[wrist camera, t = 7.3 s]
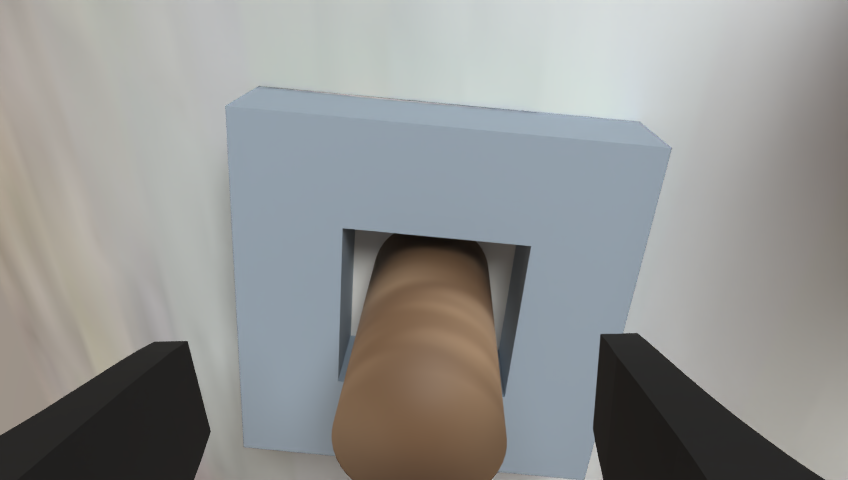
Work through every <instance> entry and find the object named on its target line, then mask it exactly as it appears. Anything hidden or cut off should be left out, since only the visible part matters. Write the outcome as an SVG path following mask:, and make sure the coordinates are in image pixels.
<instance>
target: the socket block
mask: <svg viewBox="0 0 848 480" xmlns="http://www.w3.org/2000/svg"><path fill="white" fill-rule="evenodd" d="M225 109H226V127H227V146H228V164H229V183H230V201H231V220H232V238H233V257H234V275H235V294H236V312H237V331H238V349H239V368H240V386H241V404H242V423H243V441H244V447H248V448H258V449H268V450H278V451H289V452H299V453H309V454H320V455H330V456H335V453H334V450H333V446H332V426H333V422H334V418H335V414H336V410H337V406H338V402H339V398H340V394H341V391H342V387H343V383H344V379H345V375H346V371H347V367H348V364H349V360H350V356H351V352H352V348H353V344H354V340H355V337H356V333H357V329H358V325H359V321H360V317H361V313H362V310H363V306H364V302H365V298H366V294H367V290H368V286H369V282H370V279H371V275H372V271H373V267H374V263H375V260H376V256H377V254H378V252H379V250H380V248H381V246H382V245H383V243H384V242H385V241H386V240H387V239H388V238H389V237H390V236H391V235H392V234H393V233H398V234H409V235H419V236H430V237H440V238H451V239H461V240H472V241H476V242H477V243H478V244H479V245H480V247H481V248H482V250H483V252H484V254H485V256H486V259H487V263H488V269H489V278H490V287H491V296H492V306H493V315H494V324H495V333H496V343H497V352H498V361H499V370H500V379H501V389H502V398H503V407H504V416H505V425H506V435H507V449H506V455H505V458H504V461H503V463H502V465H501V467H500V469H499V471H498V472H504V473H514V474H525V475H535V476H545V477H556V478H566V479H576V480H584V479H585V475H586V471H587V468H588V464H589V460H590V456H591V452H592V449H593V445H594V441H595V437H594V433H593V419H594V407H595V395H596V383H597V370H598V358H599V346H600V334H623V331H624V327H625V324H626V320H627V316H628V312H629V308H630V305H631V301H632V297H633V293H634V289H635V286H636V282H637V278H638V274H639V271H640V267H641V263H642V259H643V255H644V252H645V248H646V244H647V240H648V236H649V233H650V229H651V225H652V221H653V217H654V214H655V210H656V206H657V202H658V199H659V195H660V191H661V187H662V183H663V180H664V176H665V172H666V168H667V164H668V161H669V157H670V153H671V149H672V148H671V147H670V146H669V145H668V144H666V143H665V142H664V141H663V140H661V139H660V138H659V137H658V136H657V135H655V134H654V133H653V132H652V131H650V130H649V129H648V128H647V127H645V126H644V125H643V124H642V123H640V122H635V121H624V120H614V119H603V118H592V117H582V116H571V115H561V114H550V113H539V112H529V111H518V110H507V109H497V108H486V107H475V106H465V105H454V104H443V103H433V102H422V101H411V100H401V99H390V98H379V97H369V96H358V95H347V94H337V93H326V92H316V91H305V90H294V89H284V88H273V87H262V86H258V87H256V88H255V89H253V90H251V91H250V92H248V93H246V94H245V95H243V96H241V97H239V98H238V99H236V100H234V101H233V102H231V103H229V104H228V105H226V106H225Z"/></svg>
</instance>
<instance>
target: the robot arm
mask: <svg viewBox="0 0 848 480" xmlns="http://www.w3.org/2000/svg"><path fill="white" fill-rule="evenodd" d="M210 432H211V431H210V427H209V423H208V419H207V415H206V412H205V408H204V404H203V400H202V396H201V392H200V388H199V384H198V380H197V376H196V373H195V369H194V365H193V361H192V357H191V353H190V349H189V345H188V341H171V342H153V343H151V344H149V345H147V346H145V347H143V348H142V349H140V350H138V351H136V352H135V353H133V354H131V355H130V356H128V357H126V358H125V359H123V360H121V361H120V362H118V363H117V364H115V365H113V366H112V367H110V368H109V369H107V370H105V371H104V372H102V373H101V374H99V375H98V376H96V377H94V378H93V379H91V380H90V381H88V382H87V383H85V384H83V385H82V386H80V387H79V388H77V389H76V390H74V391H72V392H71V393H69V394H68V395H66V396H65V397H63V398H61V399H60V400H58V401H57V402H55V403H53V404H52V405H50V406H49V407H47V408H46V409H44V410H42V411H41V412H39V413H38V414H36V415H35V416H32V417H31V418H29V419H27V420H26V421H24V422H22V423H21V424H19V425H17V426H16V427H14V428H12V429H11V430H9V431H7V432H6V433H4V434H2V435H0V480H194V478H195V475H196V473H197V470H198V467H199V465H200V462H201V459H202V456H203V453H204V450H205V447H206V444H207V441H208V438H209V435H210ZM593 433H594V437H595V442H596V447H597V452H598V457H599V462H600V466H601V471H602V475H603V480H825V479H823V478H822V477H820V476H818V475H817V474H815V473H814V472H812V471H811V470H809V469H808V468H806V467H805V466H803V465H802V464H800V463H799V462H797V461H796V460H795V459H793V458H792V457H790V456H789V455H787V454H786V453H785V452H783V451H782V450H780V449H779V448H778V447H776V446H775V445H774V444H772V443H771V442H770V441H768V440H767V439H765V438H764V437H763V436H761V435H760V434H759V433H757V432H756V431H755V430H753V429H752V428H750V427H749V426H748V425H747V424H745V423H744V422H743V421H741V420H740V419H739V418H738V417H736V416H735V415H734V414H732V413H731V412H730V411H729V410H727V409H726V408H725V407H724V406H722V405H721V404H720V403H719V402H717V401H716V400H715V399H714V398H713V397H711V396H710V395H709V394H708V393H706V392H705V391H704V390H703V389H702V388H700V387H699V386H698V385H697V384H696V383H695V382H693V381H692V380H691V379H690V378H689V377H687V376H686V375H685V374H684V373H683V372H682V371H681V370H679V369H678V368H677V367H676V366H675V365H674V364H672V363H671V362H670V361H669V360H668V359H667V358H666V357H664V356H663V355H662V354H661V353H660V352H659V351H658V350H656V349H655V348H654V347H653V346H652V345H651V344H650V343H648V342H647V341H646V340H645V339H644V338H642V337H641V336H640V335H639V334H638V333H626V334H600V346H599V358H598V370H597V383H596V395H595V407H594V419H593Z"/></svg>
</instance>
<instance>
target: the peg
mask: <svg viewBox="0 0 848 480" xmlns="http://www.w3.org/2000/svg"><path fill="white" fill-rule="evenodd" d="M332 446H333V450H334V453H335V456H336V459H337V460H338V462H339V464H340V466H341V467H342V469H343V470H344V471H345V473H346V474H347V475H348V476H349V477H350V478H351V479H352V480H491V479H492V478H493V477H494V476H495V475H496V473H497V472H498V471H499V469H500V467H501V465H502V463H503V461H504V458H505V455H506V449H507V435H506V425H505V416H504V407H503V398H502V389H501V379H500V370H499V361H498V352H497V343H496V333H495V324H494V315H493V306H492V296H491V287H490V278H489V269H488V263H487V259H486V256H485V254H484V252H483V250H482V248H481V247H480V245H479V244H478V243H477V242H476V241H472V240H461V239H451V238H440V237H430V236H419V235H409V234H398V233H393V234H392V235H391V236H390V237H389V238H388V239H387V240H386V241H385V242H384V243H383V245H382V246H381V248H380V250H379V252H378V254H377V256H376V260H375V263H374V267H373V271H372V275H371V279H370V282H369V286H368V290H367V294H366V298H365V302H364V306H363V310H362V313H361V317H360V321H359V325H358V329H357V333H356V337H355V340H354V344H353V348H352V352H351V356H350V360H349V364H348V367H347V371H346V375H345V379H344V383H343V387H342V391H341V394H340V398H339V402H338V406H337V410H336V414H335V418H334V422H333V426H332Z"/></svg>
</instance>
